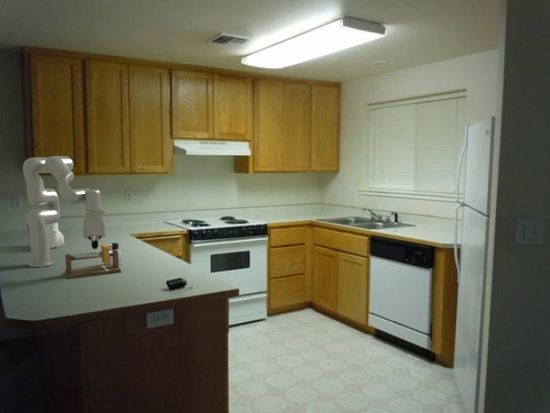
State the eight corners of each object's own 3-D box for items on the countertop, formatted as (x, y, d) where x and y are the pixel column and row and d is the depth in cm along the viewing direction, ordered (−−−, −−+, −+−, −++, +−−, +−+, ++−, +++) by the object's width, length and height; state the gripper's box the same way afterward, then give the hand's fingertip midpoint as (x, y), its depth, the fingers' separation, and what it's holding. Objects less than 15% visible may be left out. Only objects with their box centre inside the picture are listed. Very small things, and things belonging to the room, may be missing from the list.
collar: (101, 261, 245) (101, 244, 244) (106, 260, 246) (105, 244, 245) (105, 264, 237) (104, 247, 236) (109, 263, 238) (109, 246, 238)
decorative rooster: (40, 245, 317) (38, 210, 315) (65, 244, 323) (63, 209, 321) (35, 252, 294) (33, 213, 292) (62, 250, 300) (60, 212, 297)
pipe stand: (65, 272, 239) (64, 252, 238) (115, 266, 252) (114, 247, 251) (68, 278, 226) (67, 257, 225) (120, 272, 239) (120, 252, 238)
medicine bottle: (116, 262, 263) (115, 241, 262) (122, 264, 258) (121, 243, 257) (104, 264, 258) (103, 243, 257) (110, 266, 253) (109, 244, 252)
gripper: (107, 212, 244) (108, 246, 246) (76, 213, 236) (78, 249, 238) (110, 213, 237) (111, 248, 239) (79, 215, 230) (80, 251, 231)
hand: (95, 248), depth 239 cm, fingers closed
